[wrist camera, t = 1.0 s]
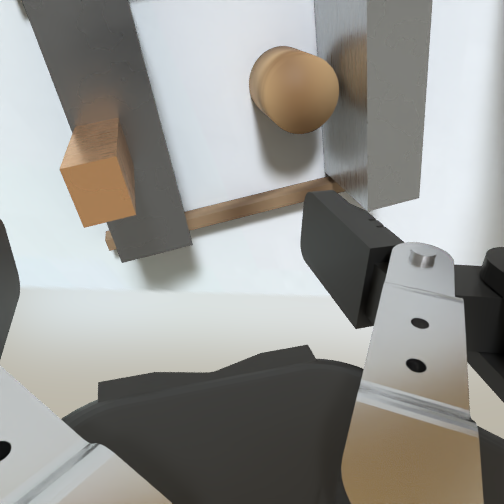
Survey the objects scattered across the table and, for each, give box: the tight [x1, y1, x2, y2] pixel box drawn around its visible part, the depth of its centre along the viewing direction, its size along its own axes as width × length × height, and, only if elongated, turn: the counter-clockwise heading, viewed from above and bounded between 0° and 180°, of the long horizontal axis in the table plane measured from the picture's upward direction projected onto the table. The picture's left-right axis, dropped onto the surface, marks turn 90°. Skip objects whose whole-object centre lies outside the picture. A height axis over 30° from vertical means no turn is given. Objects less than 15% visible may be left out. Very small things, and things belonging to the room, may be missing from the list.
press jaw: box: [22, 0, 193, 263], centre depth 26 cm, size 5×16×13 cm, turn 9°
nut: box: [249, 46, 339, 134], centre depth 31 cm, size 5×5×5 cm
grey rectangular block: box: [314, 0, 432, 211], centre depth 30 cm, size 4×16×8 cm, turn 9°
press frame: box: [105, 176, 345, 251], centre depth 32 cm, size 23×19×2 cm
